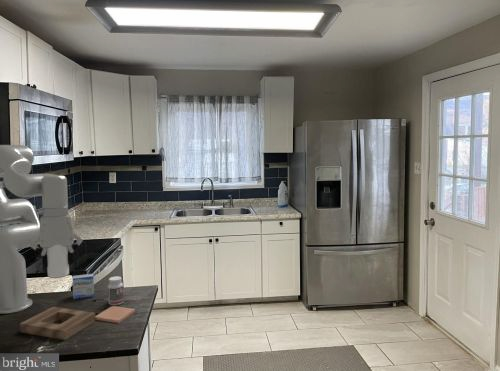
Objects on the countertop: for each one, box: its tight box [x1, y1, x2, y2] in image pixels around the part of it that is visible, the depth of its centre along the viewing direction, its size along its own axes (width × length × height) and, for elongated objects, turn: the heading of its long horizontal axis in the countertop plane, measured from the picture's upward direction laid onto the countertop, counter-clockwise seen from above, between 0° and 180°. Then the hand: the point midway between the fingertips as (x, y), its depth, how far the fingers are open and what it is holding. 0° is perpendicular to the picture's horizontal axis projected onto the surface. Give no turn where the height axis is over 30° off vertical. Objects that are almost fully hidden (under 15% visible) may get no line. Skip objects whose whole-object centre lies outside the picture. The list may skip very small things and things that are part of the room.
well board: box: [19, 306, 96, 341], centre depth 130 cm, size 18×14×3 cm
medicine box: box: [72, 273, 95, 300], centre depth 156 cm, size 8×4×9 cm, turn 114°
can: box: [46, 245, 70, 279], centre depth 128 cm, size 6×6×12 cm
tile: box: [95, 305, 136, 324], centre depth 138 cm, size 10×10×1 cm
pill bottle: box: [107, 276, 125, 306], centre depth 149 cm, size 6×6×10 cm
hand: (58, 264), depth 128 cm, fingers closed on can, 6 cm apart
